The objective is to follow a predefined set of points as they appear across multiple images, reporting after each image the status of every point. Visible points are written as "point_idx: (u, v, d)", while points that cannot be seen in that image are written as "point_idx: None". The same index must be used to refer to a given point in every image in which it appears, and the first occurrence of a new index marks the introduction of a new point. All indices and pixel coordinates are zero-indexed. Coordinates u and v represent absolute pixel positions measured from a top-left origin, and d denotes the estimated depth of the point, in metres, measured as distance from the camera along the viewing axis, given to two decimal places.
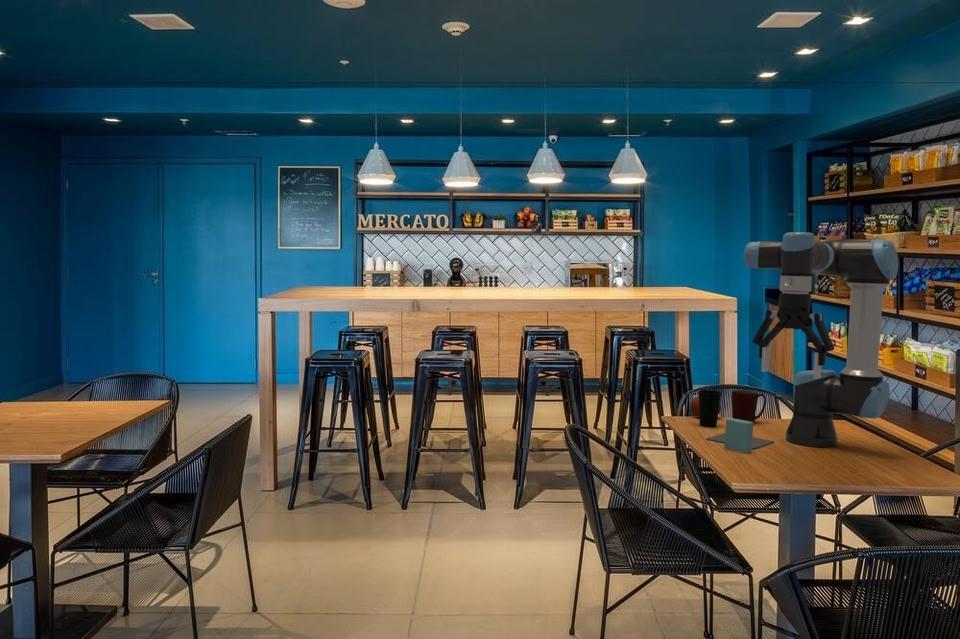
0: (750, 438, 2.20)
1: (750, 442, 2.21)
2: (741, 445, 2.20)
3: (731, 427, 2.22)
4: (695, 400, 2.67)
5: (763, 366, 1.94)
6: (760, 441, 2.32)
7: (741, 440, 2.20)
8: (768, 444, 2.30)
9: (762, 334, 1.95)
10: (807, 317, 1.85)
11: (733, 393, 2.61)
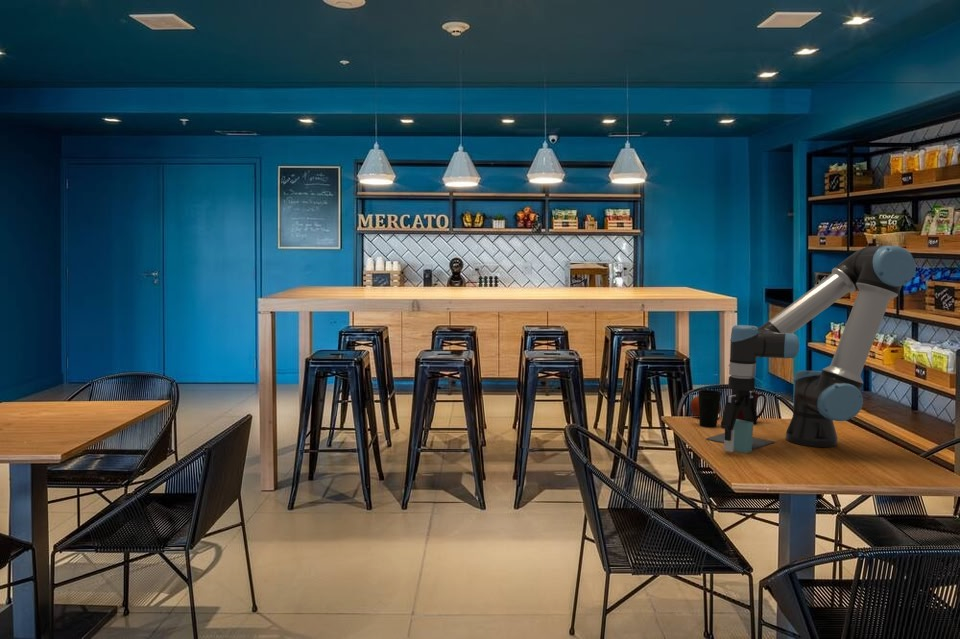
0: (750, 438, 2.20)
1: (750, 442, 2.21)
2: (741, 445, 2.20)
3: None
4: (695, 400, 2.67)
5: None
6: (760, 441, 2.32)
7: (741, 440, 2.20)
8: (768, 444, 2.30)
9: None
10: None
11: None
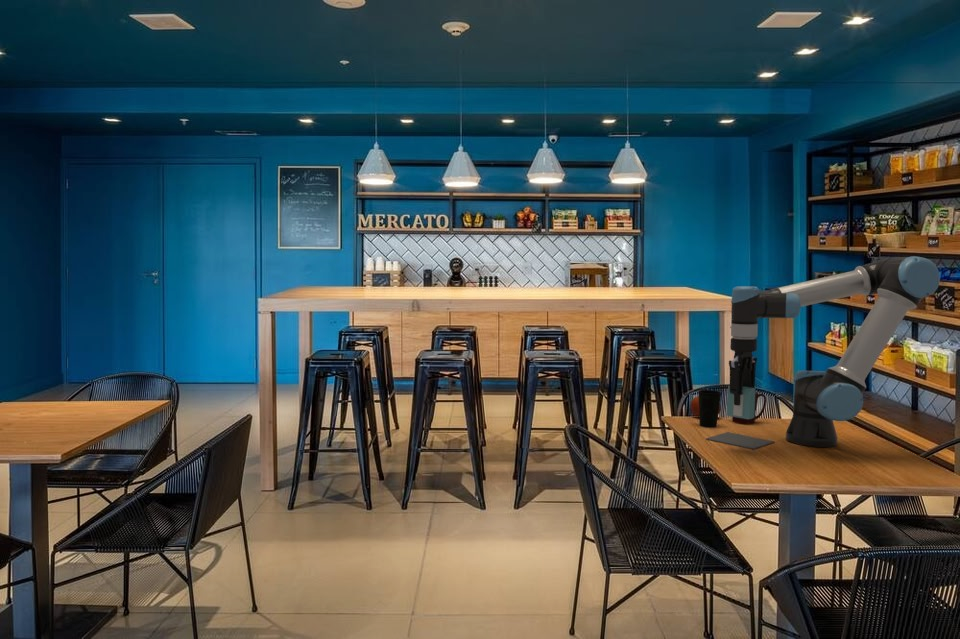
0: (752, 404, 2.20)
1: (753, 409, 2.20)
2: (743, 411, 2.19)
3: (733, 394, 2.21)
4: (695, 400, 2.67)
5: None
6: (760, 441, 2.32)
7: (743, 406, 2.19)
8: (768, 444, 2.30)
9: None
10: None
11: None
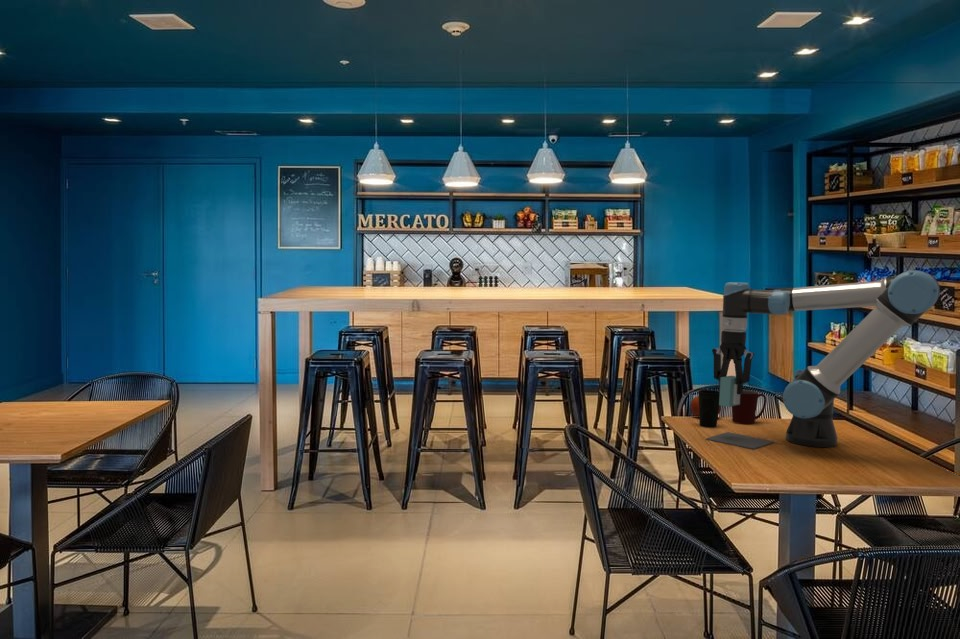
0: None
1: None
2: None
3: (733, 384, 2.33)
4: (695, 400, 2.67)
5: None
6: (760, 441, 2.32)
7: None
8: (768, 444, 2.30)
9: (718, 369, 2.38)
10: (742, 350, 2.31)
11: None
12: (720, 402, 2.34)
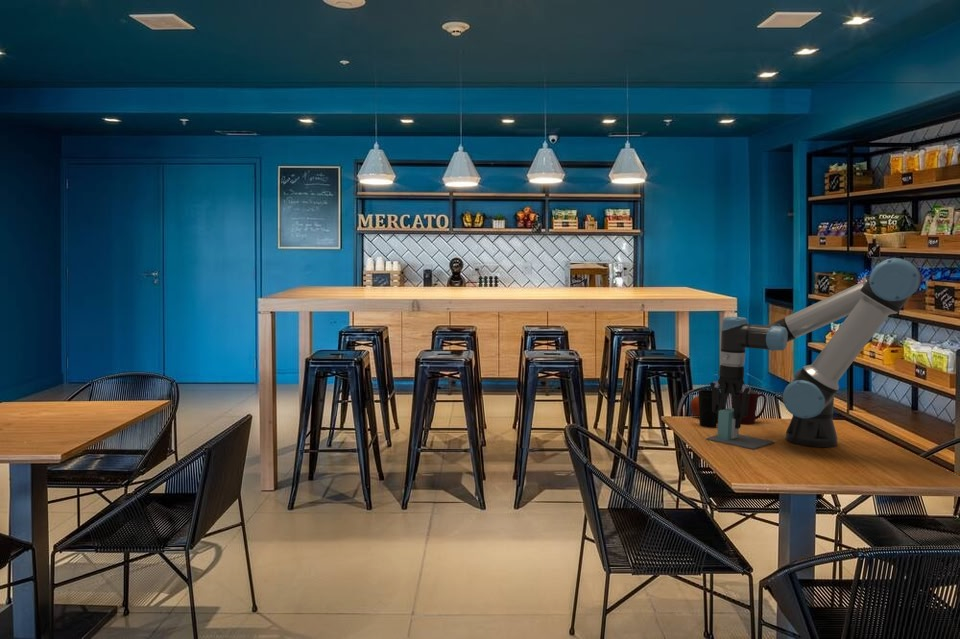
0: None
1: None
2: None
3: (731, 418, 2.34)
4: (695, 400, 2.67)
5: None
6: (760, 441, 2.32)
7: None
8: (768, 444, 2.30)
9: (716, 403, 2.39)
10: (741, 385, 2.32)
11: None
12: (718, 435, 2.35)
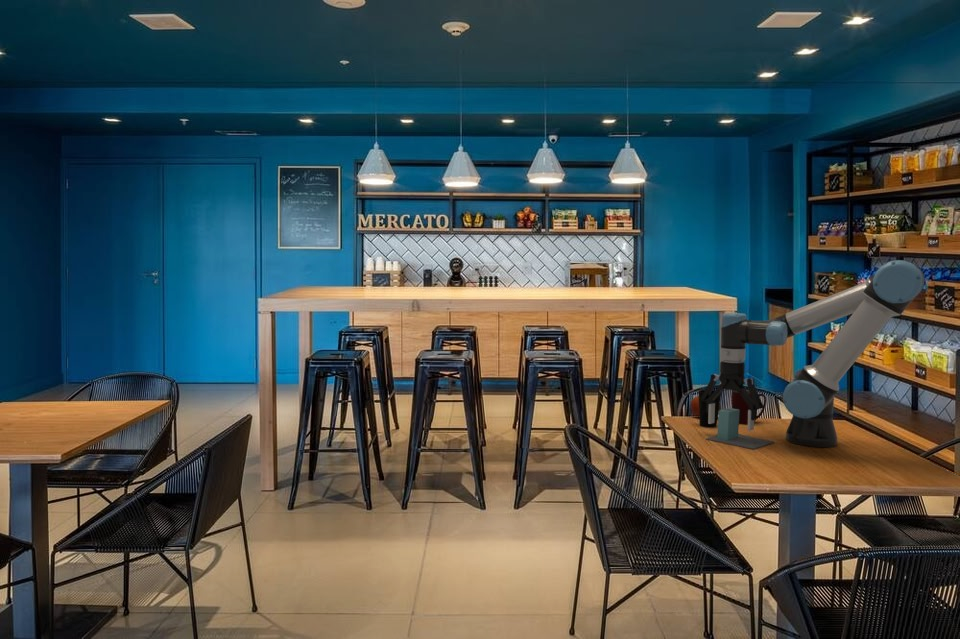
0: None
1: None
2: (736, 431, 2.36)
3: (731, 418, 2.34)
4: (695, 400, 2.67)
5: (710, 420, 2.40)
6: (760, 441, 2.32)
7: (736, 426, 2.36)
8: (768, 444, 2.30)
9: (708, 393, 2.41)
10: (742, 381, 2.32)
11: (733, 393, 2.61)
12: (718, 435, 2.35)
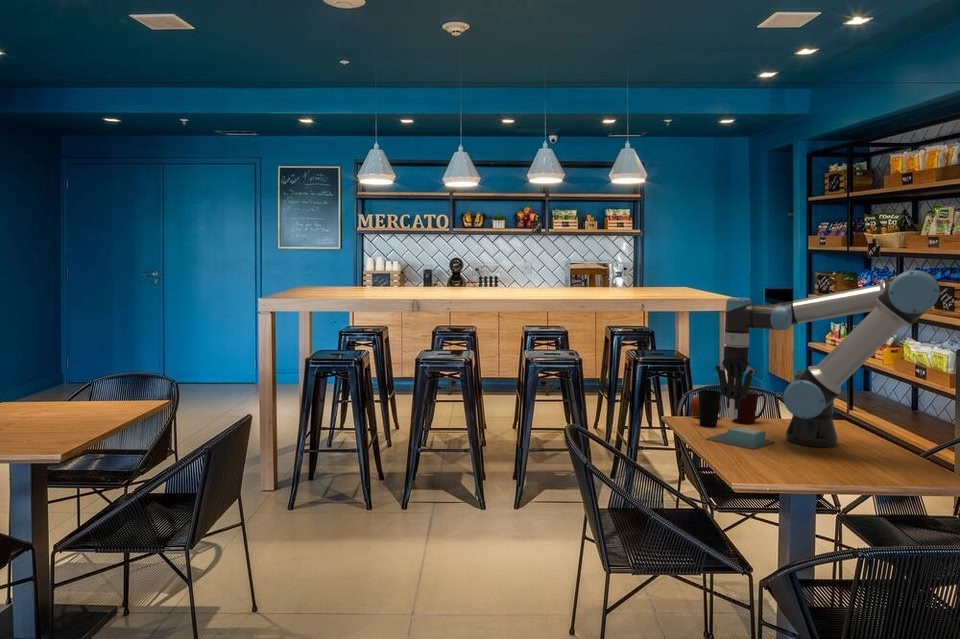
0: None
1: None
2: None
3: None
4: (695, 400, 2.67)
5: (730, 415, 2.35)
6: None
7: None
8: (768, 444, 2.30)
9: (725, 385, 2.37)
10: (745, 366, 2.31)
11: None
12: (730, 431, 2.32)
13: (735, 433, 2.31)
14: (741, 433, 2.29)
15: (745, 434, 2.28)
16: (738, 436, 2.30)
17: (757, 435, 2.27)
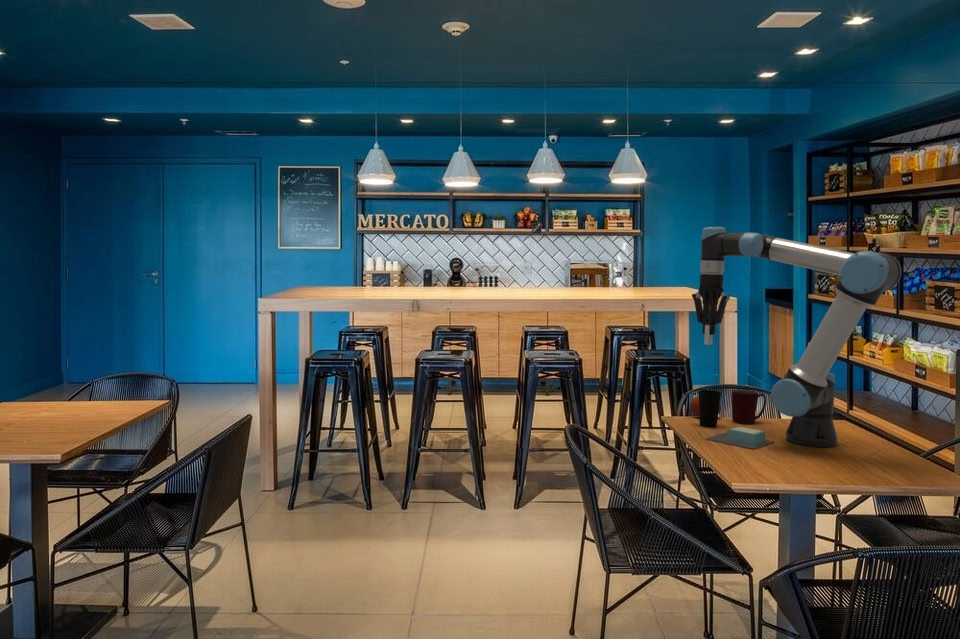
0: None
1: None
2: None
3: None
4: (695, 400, 2.67)
5: (706, 340, 2.44)
6: None
7: None
8: (768, 444, 2.30)
9: (700, 312, 2.46)
10: (720, 292, 2.40)
11: (733, 393, 2.61)
12: (730, 431, 2.32)
13: (735, 433, 2.31)
14: (741, 433, 2.29)
15: (745, 434, 2.28)
16: (738, 436, 2.30)
17: (757, 435, 2.27)
